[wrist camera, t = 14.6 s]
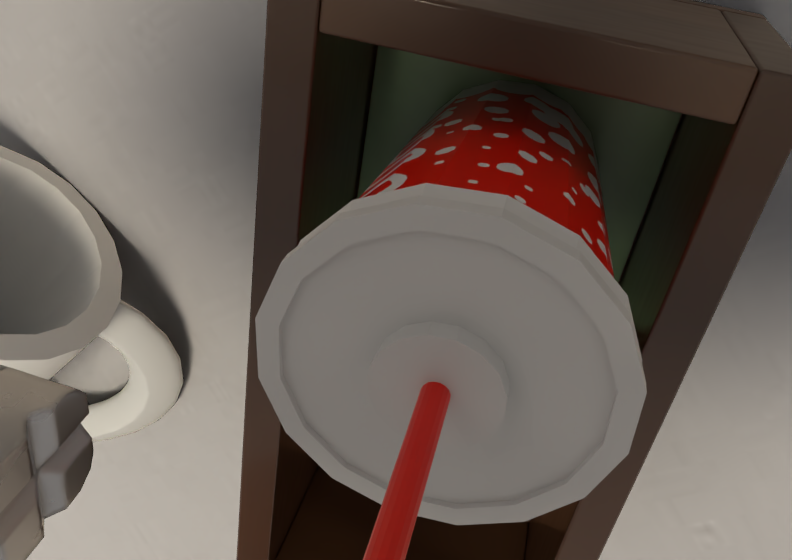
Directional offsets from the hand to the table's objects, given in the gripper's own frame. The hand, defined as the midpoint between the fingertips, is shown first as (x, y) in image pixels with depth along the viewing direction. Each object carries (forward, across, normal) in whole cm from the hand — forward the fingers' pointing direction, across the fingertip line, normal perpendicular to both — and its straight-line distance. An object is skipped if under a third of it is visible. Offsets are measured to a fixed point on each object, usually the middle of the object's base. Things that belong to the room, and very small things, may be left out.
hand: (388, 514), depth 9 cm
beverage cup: (+12, 0, 0) cm, 12 cm away
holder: (+12, 0, +5) cm, 13 cm away
